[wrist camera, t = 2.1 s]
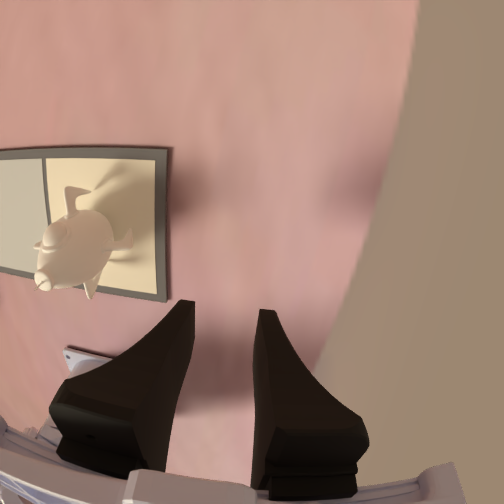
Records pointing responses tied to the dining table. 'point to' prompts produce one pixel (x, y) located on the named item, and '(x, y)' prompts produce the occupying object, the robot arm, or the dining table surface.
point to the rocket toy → (76, 247)
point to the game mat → (100, 199)
